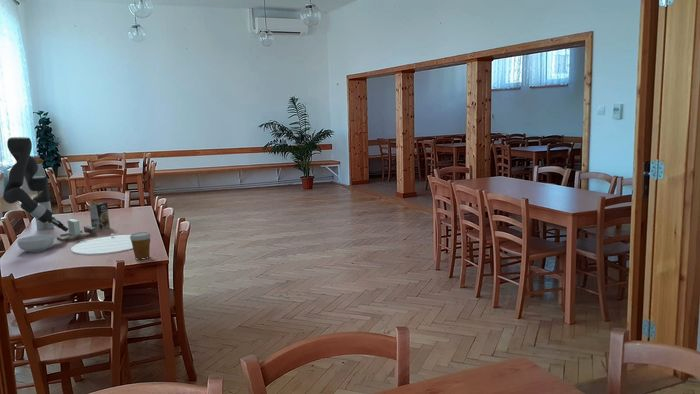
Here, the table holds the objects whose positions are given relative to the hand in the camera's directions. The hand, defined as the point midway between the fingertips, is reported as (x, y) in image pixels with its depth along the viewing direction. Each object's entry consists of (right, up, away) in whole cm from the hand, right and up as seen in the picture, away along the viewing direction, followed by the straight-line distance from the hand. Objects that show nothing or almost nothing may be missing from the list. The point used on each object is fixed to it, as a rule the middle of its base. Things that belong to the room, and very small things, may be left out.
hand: (66, 230), depth 311 cm
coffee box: (+9, -1, +24) cm, 25 cm away
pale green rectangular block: (+3, -3, +3) cm, 5 cm away
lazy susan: (+33, -8, -16) cm, 37 cm away
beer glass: (+61, -11, -46) cm, 77 cm away
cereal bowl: (-4, -10, -22) cm, 25 cm away
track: (+3, -5, +4) cm, 7 cm away
